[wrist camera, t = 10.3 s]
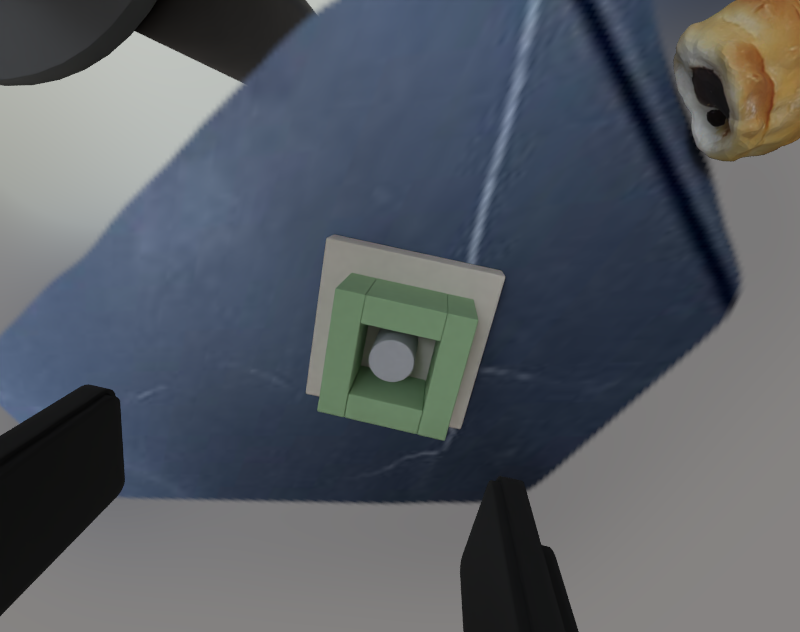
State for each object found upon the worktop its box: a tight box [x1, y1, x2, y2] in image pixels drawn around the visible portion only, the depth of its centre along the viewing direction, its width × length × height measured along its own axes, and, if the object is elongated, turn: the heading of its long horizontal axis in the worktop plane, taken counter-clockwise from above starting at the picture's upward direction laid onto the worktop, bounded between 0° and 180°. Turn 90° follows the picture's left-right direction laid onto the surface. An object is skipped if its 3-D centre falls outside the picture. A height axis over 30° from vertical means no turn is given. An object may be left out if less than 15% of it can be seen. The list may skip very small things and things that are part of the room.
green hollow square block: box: [317, 273, 478, 441], centre depth 22 cm, size 7×7×4 cm
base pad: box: [306, 234, 505, 429], centre depth 23 cm, size 10×10×4 cm
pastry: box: [674, 0, 800, 161], centre depth 17 cm, size 9×7×4 cm
